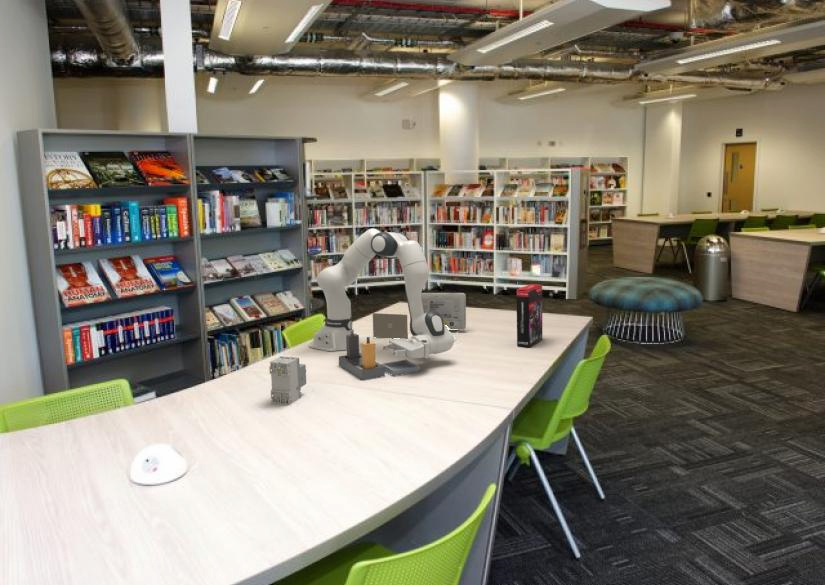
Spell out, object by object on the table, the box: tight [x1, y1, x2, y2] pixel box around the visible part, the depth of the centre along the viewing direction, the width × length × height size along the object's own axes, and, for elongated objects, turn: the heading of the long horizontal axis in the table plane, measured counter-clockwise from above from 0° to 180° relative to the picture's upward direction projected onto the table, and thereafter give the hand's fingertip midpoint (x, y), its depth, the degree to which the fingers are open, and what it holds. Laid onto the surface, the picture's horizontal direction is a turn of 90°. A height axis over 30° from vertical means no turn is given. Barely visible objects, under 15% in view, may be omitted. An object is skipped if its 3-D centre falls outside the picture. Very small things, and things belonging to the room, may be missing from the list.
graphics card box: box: [516, 283, 543, 348], centre depth 304 cm, size 17×7×27 cm, turn 148°
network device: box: [421, 292, 467, 333], centre depth 330 cm, size 26×9×20 cm, turn 84°
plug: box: [361, 336, 377, 369], centre depth 259 cm, size 3×4×14 cm
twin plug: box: [346, 328, 360, 359], centre depth 273 cm, size 3×4×14 cm
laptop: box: [372, 312, 409, 340], centre depth 324 cm, size 18×12×13 cm
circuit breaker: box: [268, 355, 307, 406], centre depth 235 cm, size 8×14×15 cm, turn 161°
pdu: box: [338, 352, 386, 381], centre depth 267 cm, size 24×10×4 cm, turn 29°
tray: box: [380, 359, 421, 377], centre depth 267 cm, size 12×12×2 cm
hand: (388, 350), depth 263 cm, fingers open, 8 cm apart
